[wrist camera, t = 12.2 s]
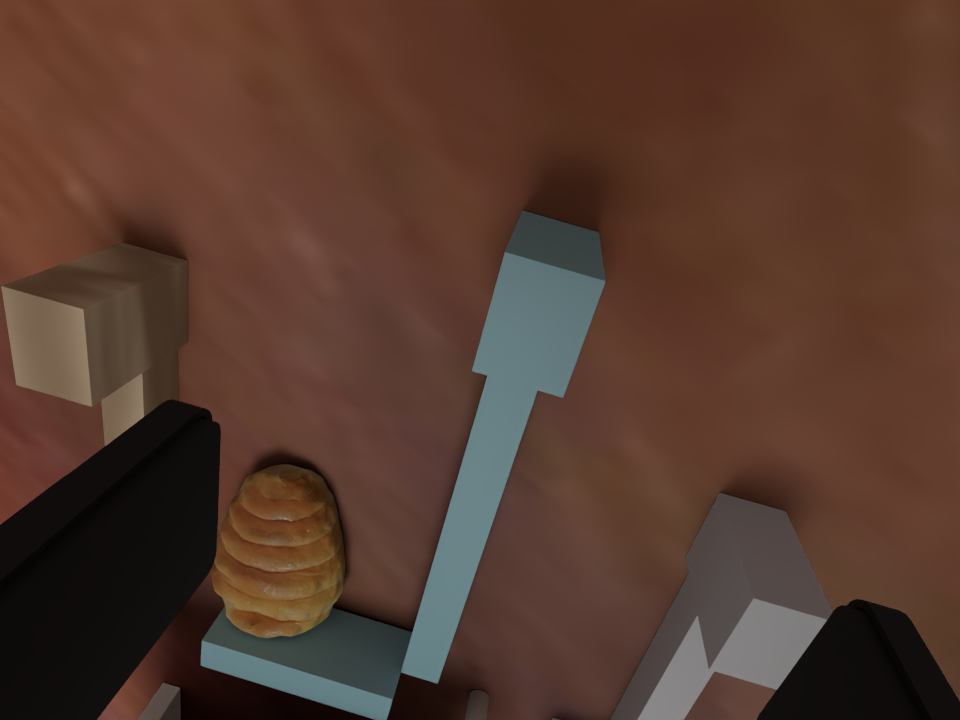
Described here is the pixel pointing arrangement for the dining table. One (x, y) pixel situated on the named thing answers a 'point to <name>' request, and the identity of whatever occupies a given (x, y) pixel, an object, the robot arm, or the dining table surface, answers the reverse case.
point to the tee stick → (730, 612)
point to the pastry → (280, 553)
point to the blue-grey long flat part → (480, 484)
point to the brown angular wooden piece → (102, 331)
